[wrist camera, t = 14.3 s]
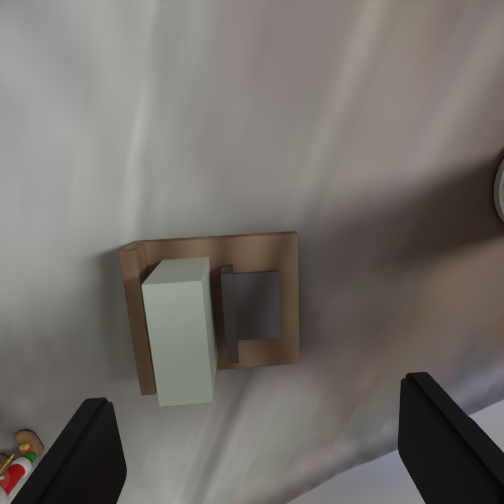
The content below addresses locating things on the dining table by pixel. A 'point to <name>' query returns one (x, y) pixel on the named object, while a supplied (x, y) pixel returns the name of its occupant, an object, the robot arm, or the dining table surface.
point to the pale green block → (182, 331)
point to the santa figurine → (18, 463)
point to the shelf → (226, 297)
